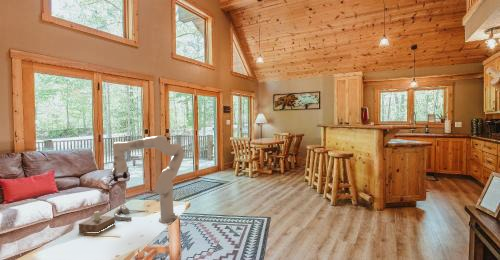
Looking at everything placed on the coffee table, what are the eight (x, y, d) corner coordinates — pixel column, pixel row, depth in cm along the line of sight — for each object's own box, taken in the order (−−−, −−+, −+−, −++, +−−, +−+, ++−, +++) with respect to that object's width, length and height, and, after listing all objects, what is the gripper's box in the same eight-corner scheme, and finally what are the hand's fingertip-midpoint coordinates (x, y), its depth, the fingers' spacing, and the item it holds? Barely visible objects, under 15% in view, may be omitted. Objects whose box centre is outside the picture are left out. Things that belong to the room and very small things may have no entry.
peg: (101, 227, 189) (100, 211, 189) (97, 229, 186) (96, 213, 185) (97, 227, 190) (96, 211, 189) (93, 229, 186) (92, 212, 186)
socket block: (115, 224, 193) (114, 216, 193) (97, 233, 178) (97, 225, 178) (97, 223, 197) (97, 215, 197) (79, 232, 182) (78, 223, 182)
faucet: (152, 211, 228) (141, 223, 201) (119, 209, 226) (104, 221, 198) (152, 205, 228) (141, 217, 201) (120, 204, 226) (104, 215, 198)
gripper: (115, 159, 189) (116, 182, 189) (131, 156, 206) (132, 177, 206) (106, 159, 191) (107, 182, 191) (123, 156, 207) (124, 177, 208)
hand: (120, 179), depth 199 cm, fingers open, 9 cm apart
